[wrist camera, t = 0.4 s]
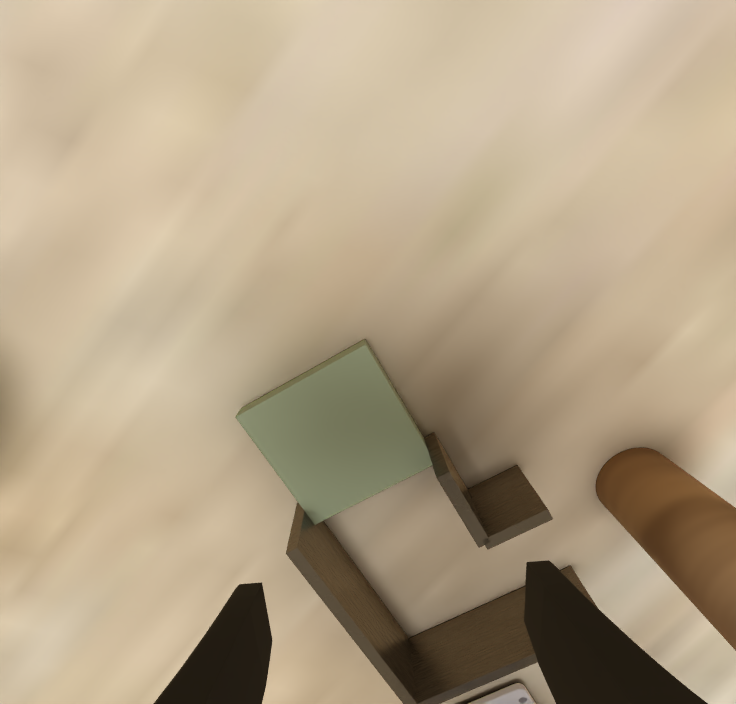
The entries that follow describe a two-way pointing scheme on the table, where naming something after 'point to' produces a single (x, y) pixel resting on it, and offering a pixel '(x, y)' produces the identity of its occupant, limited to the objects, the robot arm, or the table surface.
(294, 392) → the end pad
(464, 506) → the walled course
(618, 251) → the table surface
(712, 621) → the peg
